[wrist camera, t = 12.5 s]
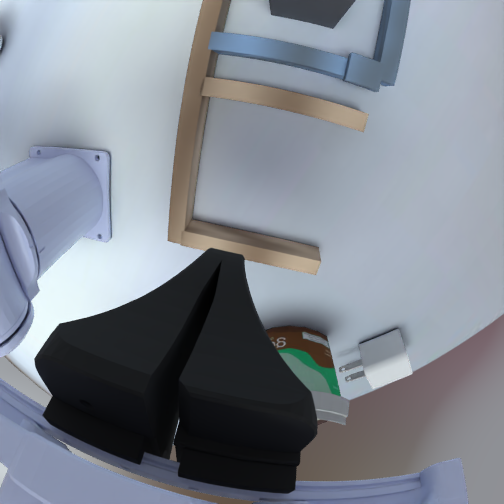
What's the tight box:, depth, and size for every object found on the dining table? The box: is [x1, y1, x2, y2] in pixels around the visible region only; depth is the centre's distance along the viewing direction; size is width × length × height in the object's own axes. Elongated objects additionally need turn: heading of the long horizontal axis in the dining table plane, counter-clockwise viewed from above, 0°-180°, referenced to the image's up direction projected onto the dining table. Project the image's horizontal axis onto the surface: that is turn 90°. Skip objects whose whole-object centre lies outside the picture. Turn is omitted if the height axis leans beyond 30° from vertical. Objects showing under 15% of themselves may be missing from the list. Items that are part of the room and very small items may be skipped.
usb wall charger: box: [339, 329, 412, 389], centre depth 25 cm, size 4×7×4 cm, turn 122°
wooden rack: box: [168, 0, 411, 275], centre depth 15 cm, size 12×26×3 cm, turn 170°
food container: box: [266, 326, 349, 425], centre depth 23 cm, size 12×6×10 cm, turn 138°
